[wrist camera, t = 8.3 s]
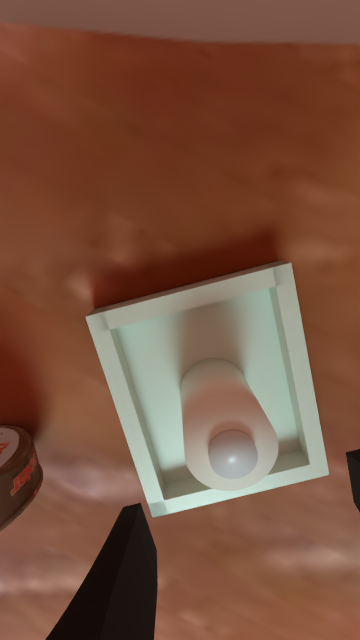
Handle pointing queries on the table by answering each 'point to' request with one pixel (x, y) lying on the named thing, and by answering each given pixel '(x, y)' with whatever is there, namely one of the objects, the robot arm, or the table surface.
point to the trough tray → (202, 343)
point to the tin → (17, 473)
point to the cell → (224, 427)
